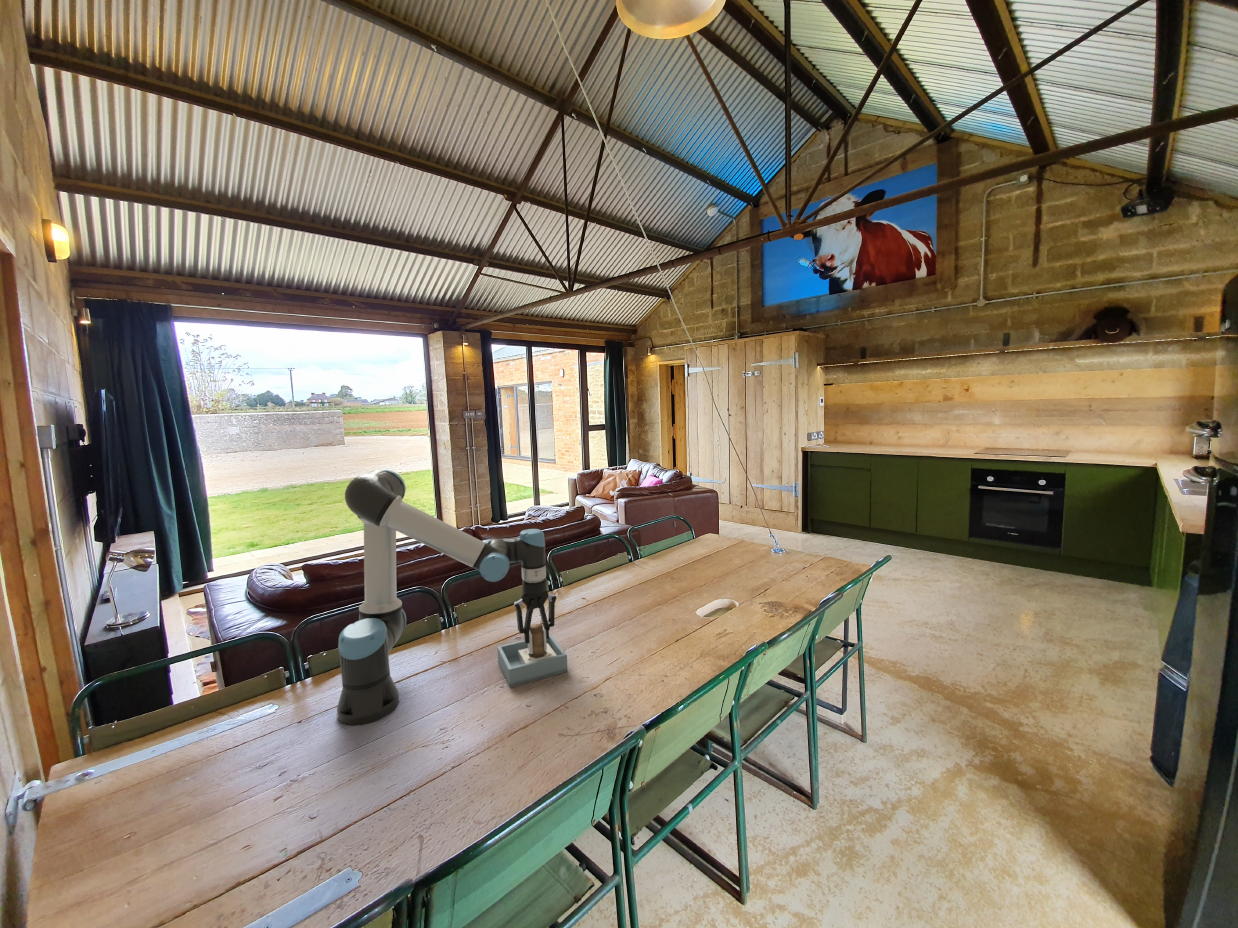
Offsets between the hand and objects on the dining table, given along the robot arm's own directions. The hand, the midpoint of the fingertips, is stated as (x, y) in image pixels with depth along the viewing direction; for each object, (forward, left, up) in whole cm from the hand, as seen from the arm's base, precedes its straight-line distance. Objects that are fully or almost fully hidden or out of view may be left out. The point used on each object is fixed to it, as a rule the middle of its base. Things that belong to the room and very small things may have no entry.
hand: (537, 650), depth 153 cm
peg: (0, 0, -4) cm, 4 cm away
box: (-2, 0, -5) cm, 5 cm away
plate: (0, 0, -5) cm, 5 cm away
